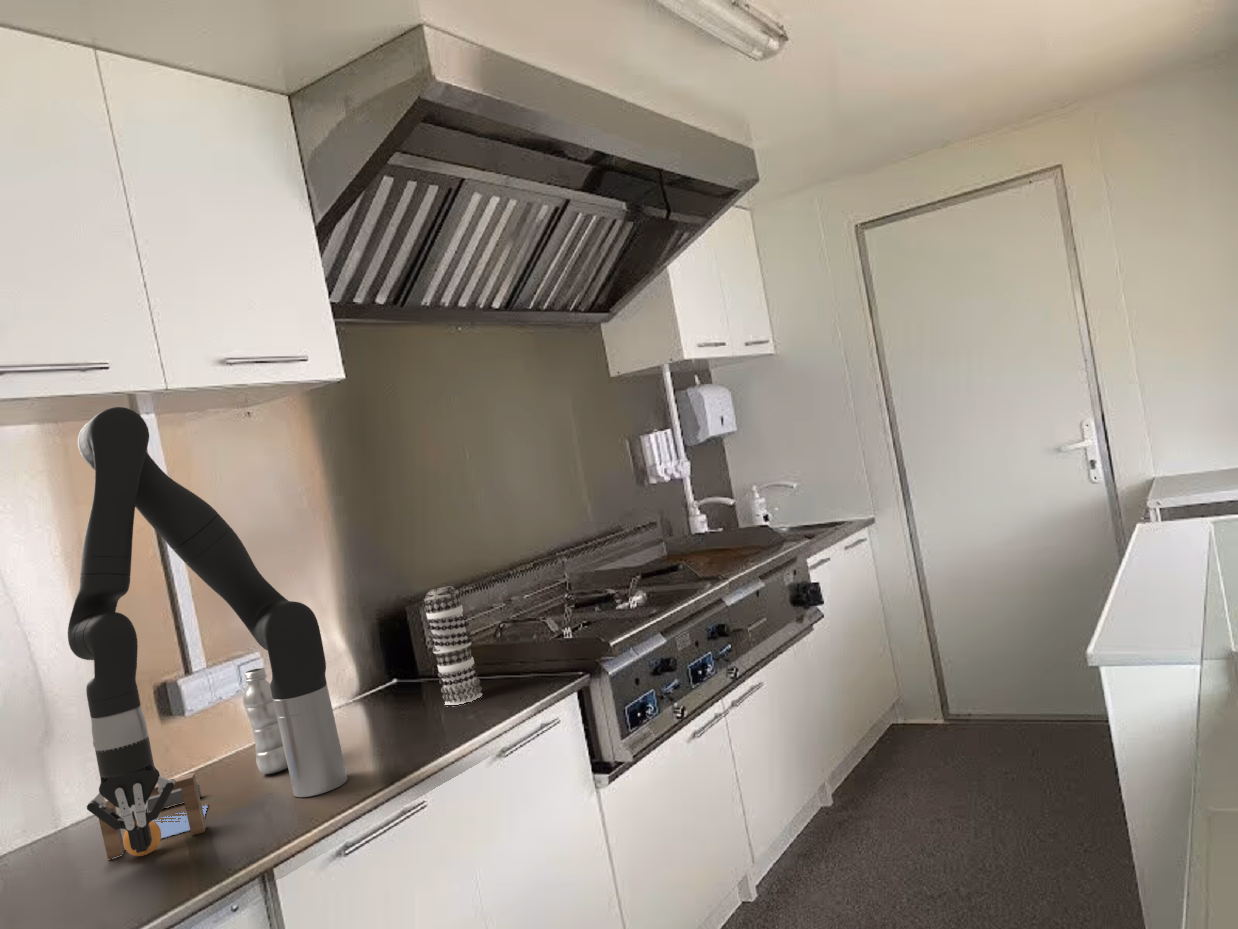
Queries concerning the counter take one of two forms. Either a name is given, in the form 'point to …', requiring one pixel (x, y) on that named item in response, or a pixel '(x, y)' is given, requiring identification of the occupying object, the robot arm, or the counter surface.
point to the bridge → (185, 782)
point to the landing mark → (175, 824)
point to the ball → (155, 842)
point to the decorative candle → (451, 646)
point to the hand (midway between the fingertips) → (142, 850)
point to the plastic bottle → (264, 723)
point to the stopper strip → (169, 798)
